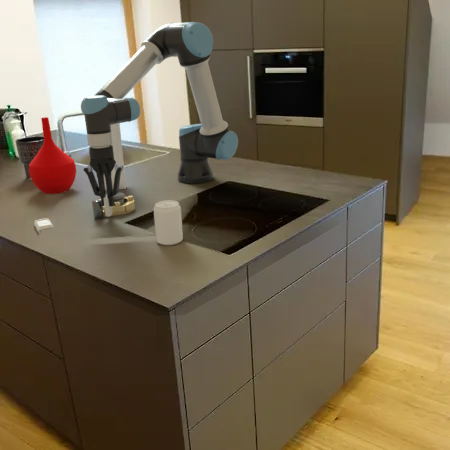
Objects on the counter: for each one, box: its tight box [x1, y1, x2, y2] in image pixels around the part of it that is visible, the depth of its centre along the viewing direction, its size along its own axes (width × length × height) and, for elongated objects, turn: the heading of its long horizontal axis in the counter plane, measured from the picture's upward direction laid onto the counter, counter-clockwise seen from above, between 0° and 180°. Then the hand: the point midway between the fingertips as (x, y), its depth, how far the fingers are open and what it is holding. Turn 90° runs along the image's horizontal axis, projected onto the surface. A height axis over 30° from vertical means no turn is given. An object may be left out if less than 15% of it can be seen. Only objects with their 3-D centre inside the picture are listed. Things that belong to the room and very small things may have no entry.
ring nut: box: [91, 195, 136, 221], centre depth 181 cm, size 17×12×6 cm
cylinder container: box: [104, 123, 127, 191], centre depth 209 cm, size 9×9×30 cm
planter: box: [15, 135, 44, 179], centre depth 230 cm, size 13×13×18 cm
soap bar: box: [33, 217, 54, 235], centre depth 172 cm, size 5×9×3 cm, turn 28°
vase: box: [29, 117, 77, 195], centre depth 208 cm, size 18×18×30 cm
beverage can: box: [153, 199, 184, 246], centre depth 156 cm, size 8×8×12 cm
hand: (109, 215), depth 174 cm, fingers closed
